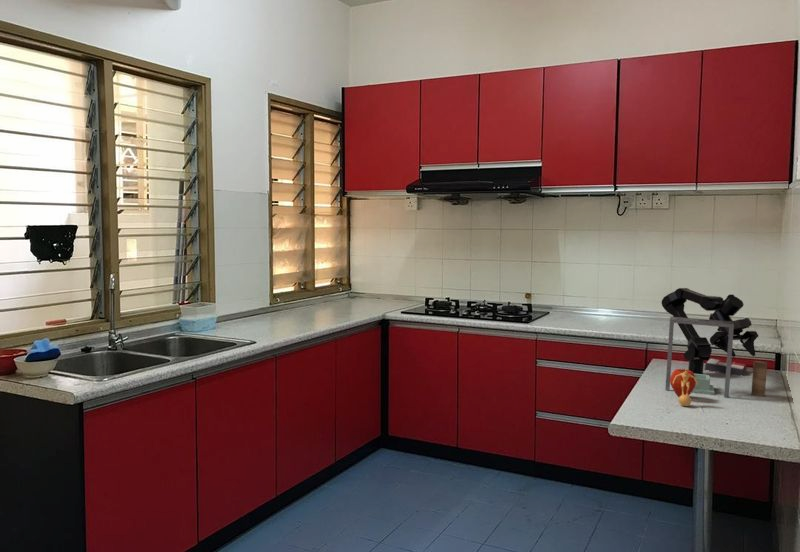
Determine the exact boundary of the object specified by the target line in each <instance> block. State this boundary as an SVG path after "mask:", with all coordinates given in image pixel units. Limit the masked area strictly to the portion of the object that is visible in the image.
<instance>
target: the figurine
mask: <svg viewBox="0 0 800 552" xmlns="http://www.w3.org/2000/svg"><path fill="white" fill-rule="evenodd" d="M678 376H682V377H683V381H681V386H682V395H681V396H680V397H678V403H679V404H680V405H681V406H683V407H687V406H690V405H691V404H692V398H691V397H690V395H689V396H688V390H689V387H690V386H689V383H690V382H689V381H688V378H689V377H692V378H694V379H695V381H696V383H697V386H698V382H697V380H696V378H695V377H694V376H692V375H690V374H688V372H687V371H685V372H683V373H681V374H679V375H676V376H675V378H674V380H673V383H672V384H674V381H675V379H676V378H677V377H678ZM687 381H688V382H687ZM685 384H686V386H687V388H688V389H687V392H686V395H684V391H683V390H684V388H683V387H684V386H685Z"/></svg>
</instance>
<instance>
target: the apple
mask: <svg viewBox="0 0 800 552" xmlns="http://www.w3.org/2000/svg"><path fill="white" fill-rule="evenodd" d="M685 371H687V372H688V374H690V375H692V376H694V377H695V375H694V373H693V372H692V371H689V370H688V369H685V368H682V369H681V368H679V369H677V368H676V369H674V370H673V371H672V372H671V375H670V385H671V388H672V390H673V392H674V393H675V395H676V396H677V397H678V398H679V397H680V396H681V395H682V386H681V381H683V377H682V376H678V377H677V378H676V379H675V381H674V384H672V383H673V380H674V378H675V376H676V375H679V374H681V373H683V372H685ZM688 381H689V382H690V383H689V386H690V387H689V390H688V396H689V397H690V394H692V393H693V392H692V391H693V389H694V387H695V384H696V381H695V379H694V378H692V377H689V378H688ZM688 381H687V382H688ZM683 388H684V390H683V391H684V395H686V392H687V389H688V388H687V386H686V384H685V386H684V387H683Z"/></svg>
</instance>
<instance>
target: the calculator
mask: <svg viewBox="0 0 800 552" xmlns="http://www.w3.org/2000/svg"><path fill="white" fill-rule="evenodd" d="M726 364H727V360H724V359H716V358H709V360H708V361H707V360H706V361H705V365H704V371H705V370H709V371H708V372H713V371H715V373H723V374H726ZM746 372H747V365H746V364H745V363H740V362H736V361H731V372H730V375H734V374H735V375H736V376H741V375H742V377H743V376H744V375H745V374H746Z"/></svg>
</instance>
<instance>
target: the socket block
mask: <svg viewBox="0 0 800 552" xmlns="http://www.w3.org/2000/svg"><path fill="white" fill-rule="evenodd" d="M694 375H695V378H696V380H697V382H698V386H697V383H696V384H695V387H694V389H693V391H692V392H691V393H695V392H697V394H703V393H704V394H706V395H714V396H715V389H714V384H711V379H710V378H711V377H710V375H709V374H705V375H703V374H694ZM704 394H703V395H704Z"/></svg>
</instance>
